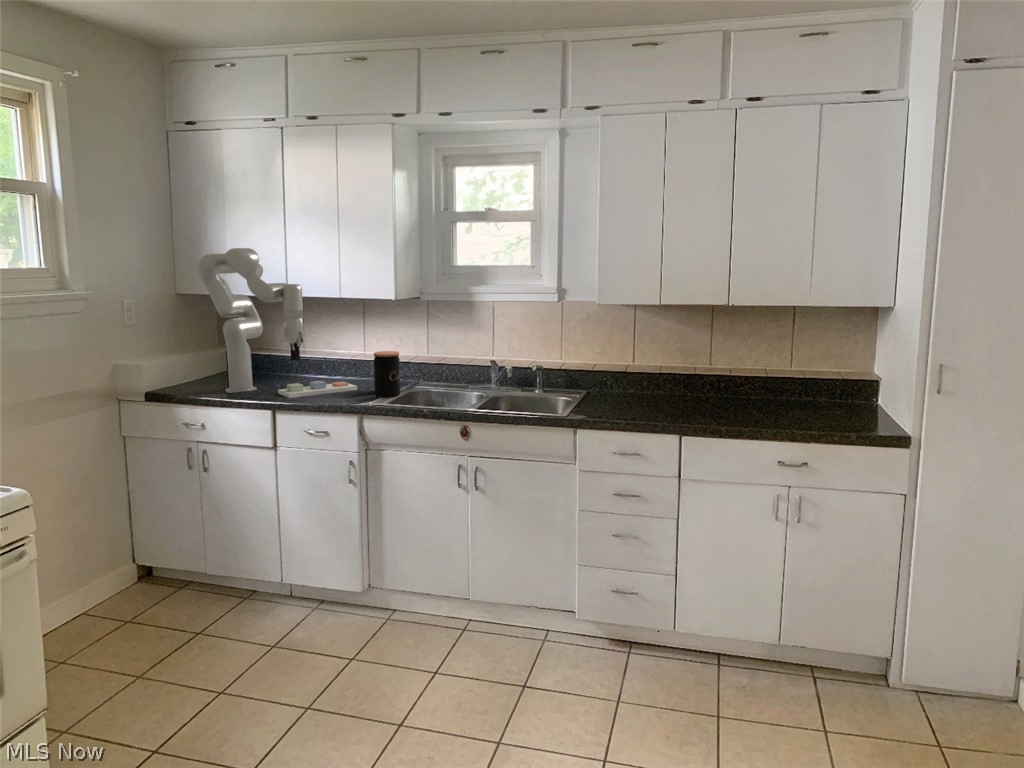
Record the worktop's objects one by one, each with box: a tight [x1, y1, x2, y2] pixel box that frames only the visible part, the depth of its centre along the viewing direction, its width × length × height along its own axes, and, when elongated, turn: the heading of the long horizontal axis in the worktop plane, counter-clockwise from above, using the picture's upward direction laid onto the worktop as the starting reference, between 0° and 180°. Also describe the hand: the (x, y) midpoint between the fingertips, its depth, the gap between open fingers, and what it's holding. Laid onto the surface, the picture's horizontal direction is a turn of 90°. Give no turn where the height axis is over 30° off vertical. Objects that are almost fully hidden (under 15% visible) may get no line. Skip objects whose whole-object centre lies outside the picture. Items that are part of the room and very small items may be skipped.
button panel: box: [277, 382, 358, 399], centre depth 319 cm, size 12×30×3 cm, turn 127°
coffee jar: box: [373, 350, 401, 398], centre depth 317 cm, size 11×11×18 cm
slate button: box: [309, 380, 327, 390], centre depth 319 cm, size 5×5×4 cm
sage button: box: [286, 382, 304, 392], centre depth 313 cm, size 5×5×4 cm
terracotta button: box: [331, 381, 349, 387], centre depth 325 cm, size 5×5×4 cm
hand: (295, 359), depth 311 cm, fingers closed
